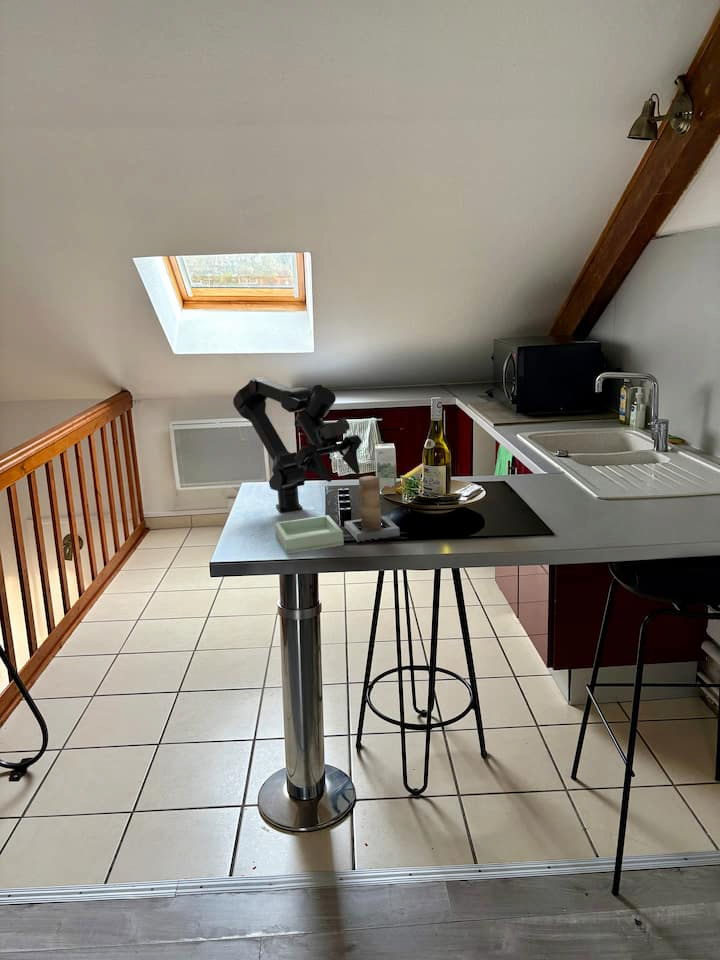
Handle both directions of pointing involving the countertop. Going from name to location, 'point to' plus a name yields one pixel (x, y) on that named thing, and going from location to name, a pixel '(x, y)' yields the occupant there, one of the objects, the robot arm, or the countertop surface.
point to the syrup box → (386, 464)
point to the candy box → (412, 474)
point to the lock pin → (370, 503)
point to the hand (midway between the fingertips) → (344, 477)
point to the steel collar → (386, 532)
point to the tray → (308, 534)
